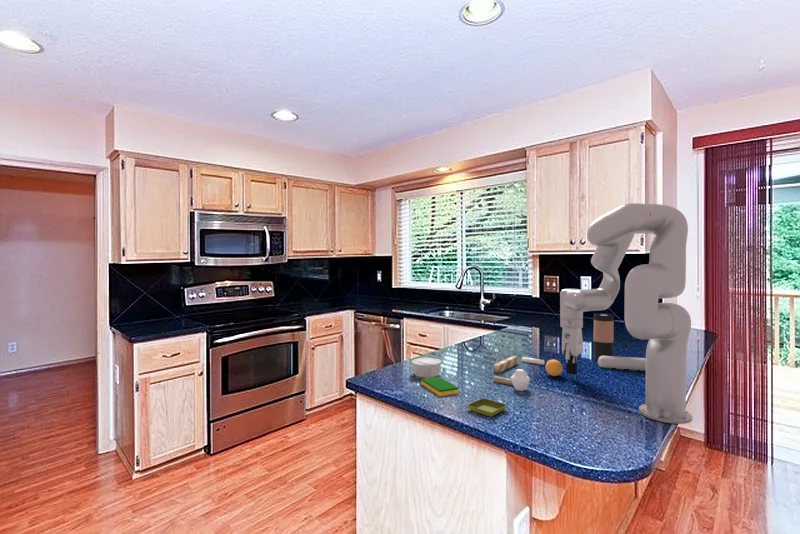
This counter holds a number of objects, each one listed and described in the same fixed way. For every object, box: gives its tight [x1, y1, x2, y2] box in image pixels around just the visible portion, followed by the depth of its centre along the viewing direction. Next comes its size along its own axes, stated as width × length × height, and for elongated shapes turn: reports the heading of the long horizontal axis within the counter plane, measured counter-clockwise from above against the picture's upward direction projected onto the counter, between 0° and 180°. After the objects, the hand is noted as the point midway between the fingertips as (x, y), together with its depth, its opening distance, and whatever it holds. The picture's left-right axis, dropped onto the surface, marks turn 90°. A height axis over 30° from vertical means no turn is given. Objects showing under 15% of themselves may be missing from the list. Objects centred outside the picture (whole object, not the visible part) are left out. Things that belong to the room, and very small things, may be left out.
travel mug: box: [593, 312, 615, 363], centre depth 175 cm, size 8×8×20 cm
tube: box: [597, 355, 646, 372], centre depth 162 cm, size 5×5×25 cm
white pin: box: [521, 356, 545, 366], centre depth 173 cm, size 2×2×9 cm
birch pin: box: [493, 375, 513, 386], centre depth 145 cm, size 2×2×9 cm
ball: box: [544, 359, 563, 377], centre depth 154 cm, size 6×6×6 cm
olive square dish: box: [466, 397, 508, 417], centre depth 120 cm, size 9×9×2 cm
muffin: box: [510, 368, 531, 392], centre depth 139 cm, size 6×6×7 cm
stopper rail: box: [493, 355, 519, 374], centre depth 165 cm, size 18×2×3 cm, turn 141°
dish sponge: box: [420, 376, 459, 397], centre depth 140 cm, size 7×14×2 cm, turn 23°
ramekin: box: [411, 357, 442, 379], centre depth 157 cm, size 11×11×5 cm
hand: (571, 373), depth 149 cm, fingers closed
